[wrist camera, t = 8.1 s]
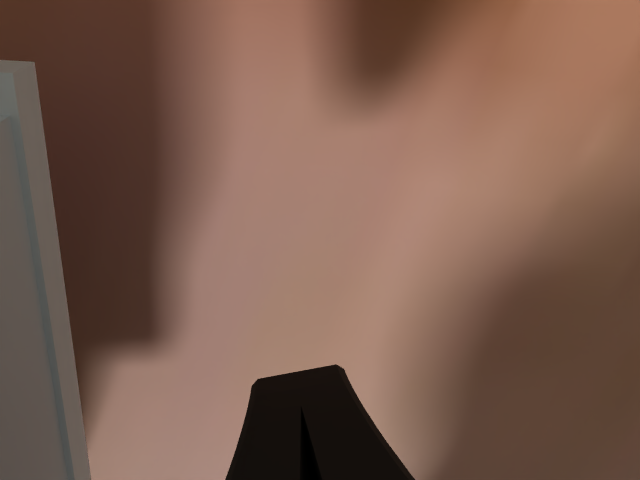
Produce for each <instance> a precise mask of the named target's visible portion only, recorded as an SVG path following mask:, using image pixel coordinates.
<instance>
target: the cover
mask: <svg viewBox="0 0 640 480" xmlns="http://www.w3.org/2000/svg"><path fill="white" fill-rule="evenodd" d="M0 480H91V475H90V468H89V460H88V453H87V445H86V438H85V431H84V423H83V416H82V408H81V401H80V394H79V386H78V379H77V372H76V364H75V357H74V349H73V342H72V335H71V327H70V320H69V313H68V305H67V298H66V290H65V283H64V276H63V268H62V261H61V254H60V246H59V239H58V231H57V224H56V217H55V209H54V202H53V194H52V187H51V180H50V172H49V165H48V158H47V150H46V143H45V135H44V128H43V121H42V113H41V106H40V99H39V91H38V84H37V76H36V69H35V62H28V61H11V60H0Z"/></svg>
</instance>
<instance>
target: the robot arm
mask: <svg viewBox="0 0 640 480" xmlns="http://www.w3.org/2000/svg"><path fill="white" fill-rule="evenodd" d="M225 480H415V479H414V478H413V477H412V475H411V474H410V473H409V471H408V470H407V469H406V467H405V466H404V464H403V463H402V462H401V460H400V459H399V458H398V456H397V455H396V454H395V452H394V451H393V450H392V448H391V447H390V446H389V444H388V443H387V442H386V440H385V439H384V437H383V436H382V434H381V433H380V431H379V430H378V429H377V427H376V426H375V424H374V422H373V421H372V419H371V418H370V416H369V415H368V413H367V412H366V410H365V408H364V407H363V405H362V403H361V402H360V400H359V398H358V397H357V395H356V393H355V391H354V389H353V388H352V386H351V384H350V382H349V380H348V377H347V375H346V373H345V370H344V369H343V368H341V367H340V366H338V365H331V366H325V367H320V368H314V369H309V370H304V371H298V372H293V373H287V374H282V375H277V376H271V377H266V378H260V379H257V381H256V382H255V383H254V384H253V385H252V388H251V394H250V399H249V404H248V408H247V412H246V416H245V420H244V424H243V427H242V431H241V434H240V438H239V441H238V444H237V447H236V451H235V454H234V457H233V460H232V462H231V465H230V468H229V471H228V474H227V477H226V479H225Z"/></svg>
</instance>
